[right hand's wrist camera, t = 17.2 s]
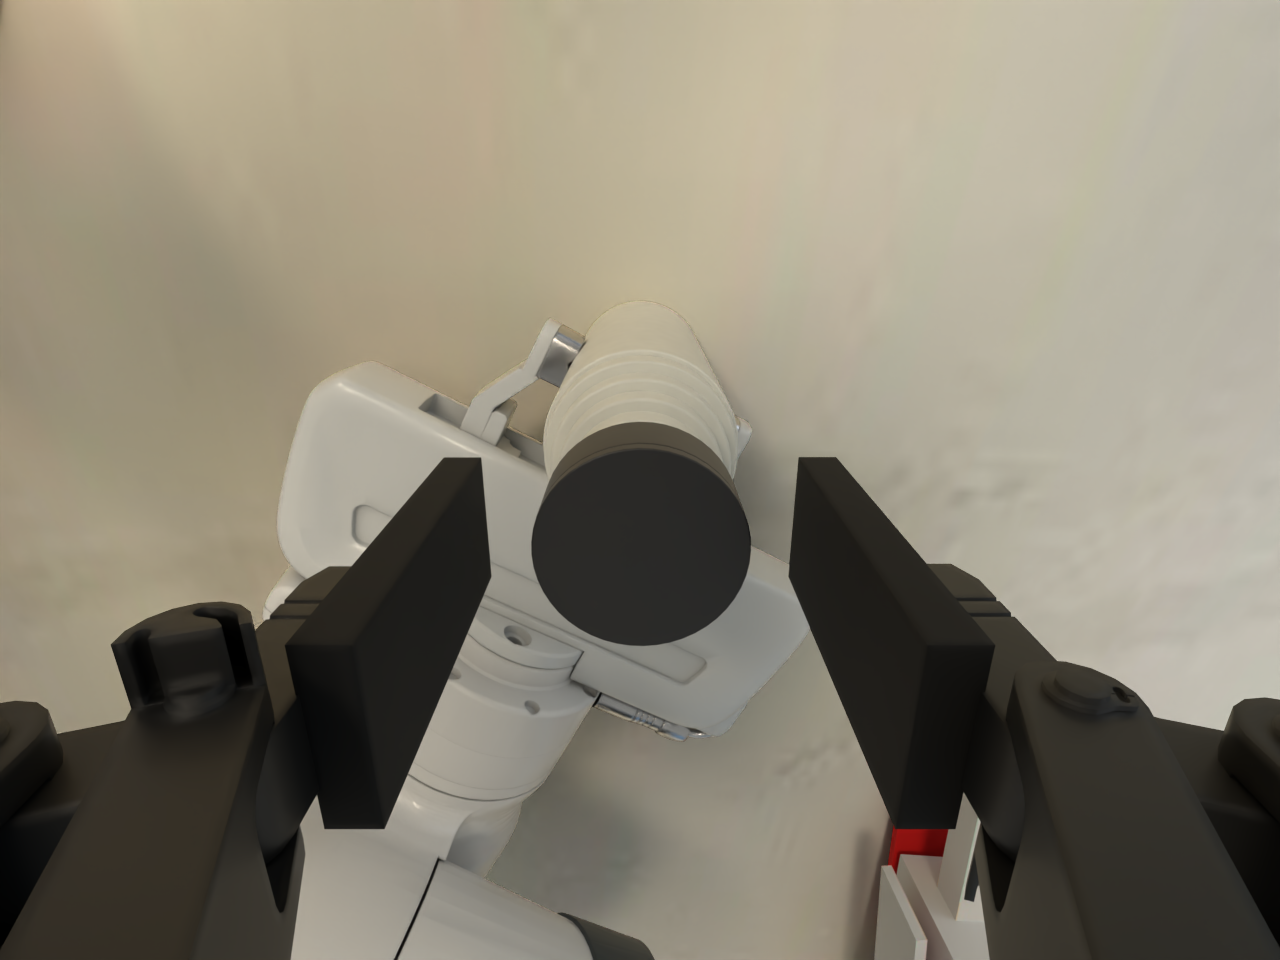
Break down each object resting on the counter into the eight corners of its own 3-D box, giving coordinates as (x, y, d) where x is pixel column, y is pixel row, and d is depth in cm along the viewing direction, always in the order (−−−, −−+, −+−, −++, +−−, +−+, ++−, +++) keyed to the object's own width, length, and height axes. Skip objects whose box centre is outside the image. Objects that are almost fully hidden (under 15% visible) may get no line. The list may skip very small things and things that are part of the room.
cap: (627, 631, 15) (625, 682, 14) (503, 501, 14) (484, 538, 12) (776, 528, 14) (795, 568, 13) (656, 379, 13) (659, 401, 12)
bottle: (563, 322, 30) (458, 453, 12) (681, 284, 29) (742, 367, 12) (602, 434, 31) (556, 685, 14) (714, 401, 31) (806, 620, 14)
